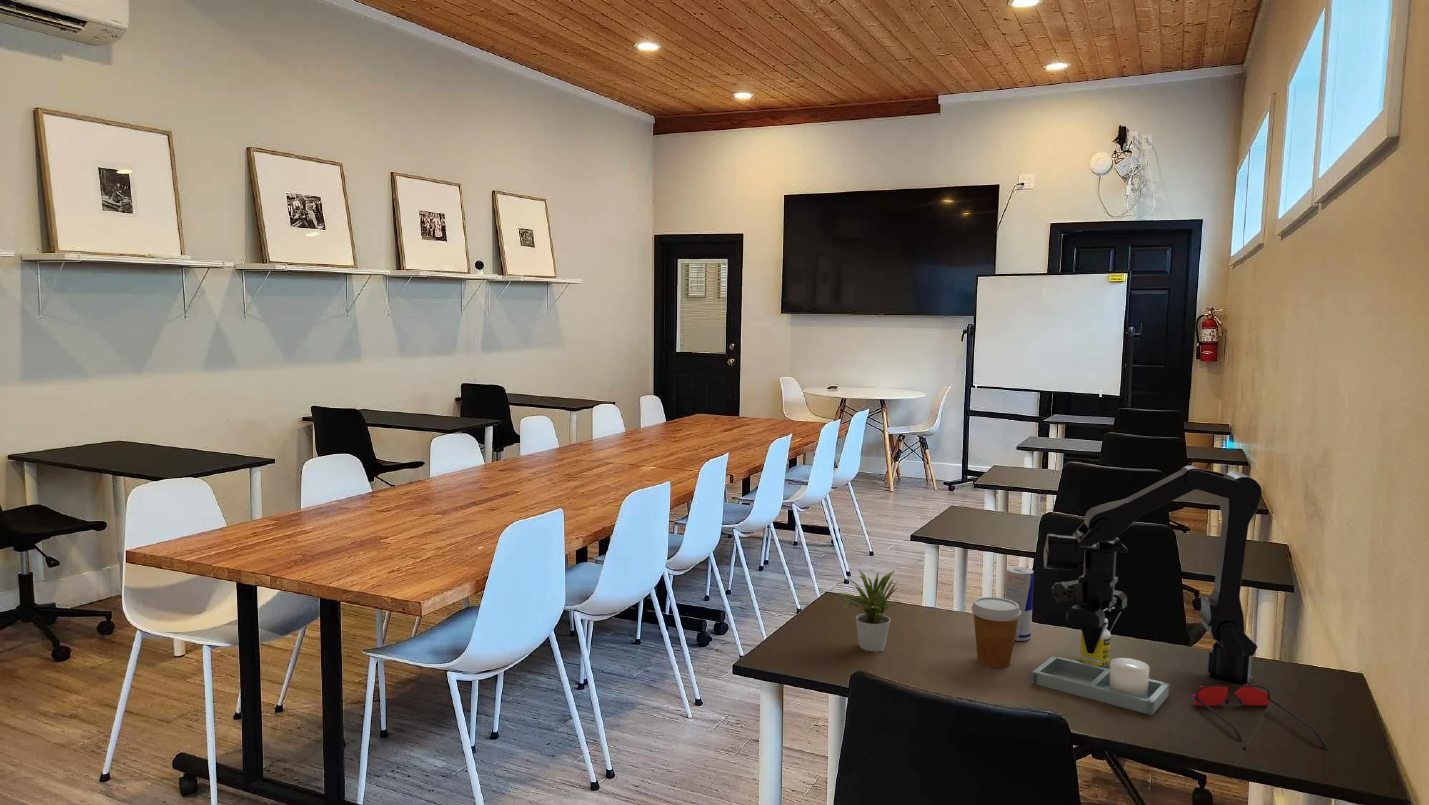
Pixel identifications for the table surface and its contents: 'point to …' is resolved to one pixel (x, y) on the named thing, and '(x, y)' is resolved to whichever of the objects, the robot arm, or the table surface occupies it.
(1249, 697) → the glasses
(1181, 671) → the table surface
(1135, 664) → the white pillar candle
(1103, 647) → the supplement bottle
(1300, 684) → the table surface
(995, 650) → the disposable coffee cup
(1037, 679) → the tray
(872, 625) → the house plant
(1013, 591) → the beverage can
